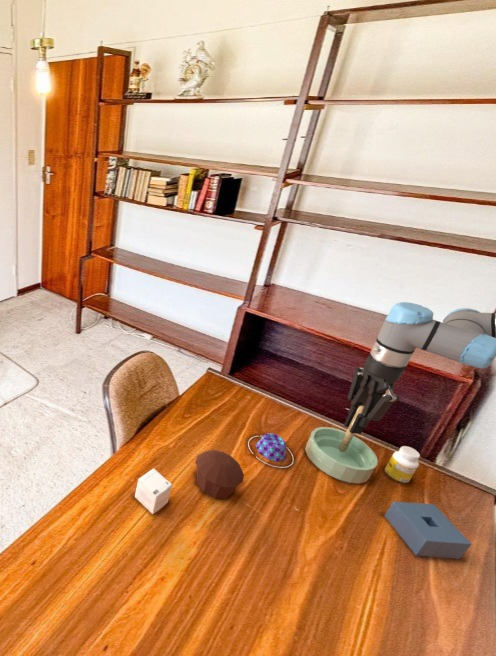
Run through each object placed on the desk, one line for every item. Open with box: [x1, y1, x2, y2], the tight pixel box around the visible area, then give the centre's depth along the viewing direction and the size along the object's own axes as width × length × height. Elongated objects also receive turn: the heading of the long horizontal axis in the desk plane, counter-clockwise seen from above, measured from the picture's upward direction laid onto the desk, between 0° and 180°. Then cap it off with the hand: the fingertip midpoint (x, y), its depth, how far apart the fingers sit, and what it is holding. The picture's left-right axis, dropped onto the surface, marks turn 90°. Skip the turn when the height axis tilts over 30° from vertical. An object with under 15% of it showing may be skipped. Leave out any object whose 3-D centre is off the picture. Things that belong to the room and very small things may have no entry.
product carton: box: [134, 468, 173, 515], centre depth 99 cm, size 6×6×7 cm
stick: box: [338, 406, 364, 452], centre depth 111 cm, size 2×2×17 cm
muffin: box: [195, 449, 245, 500], centre depth 103 cm, size 12×11×10 cm
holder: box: [384, 501, 472, 560], centre depth 93 cm, size 10×10×6 cm
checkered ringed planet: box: [247, 432, 295, 469], centre depth 116 cm, size 12×12×5 cm
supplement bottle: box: [384, 445, 421, 484], centre depth 108 cm, size 5×5×10 cm
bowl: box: [304, 426, 379, 484], centre depth 113 cm, size 16×16×6 cm
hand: (352, 429), depth 111 cm, fingers closed on stick, 2 cm apart
